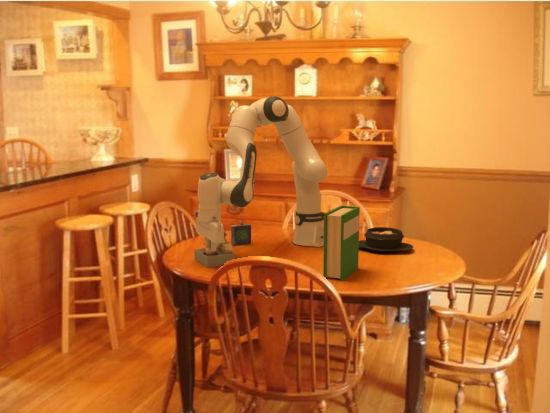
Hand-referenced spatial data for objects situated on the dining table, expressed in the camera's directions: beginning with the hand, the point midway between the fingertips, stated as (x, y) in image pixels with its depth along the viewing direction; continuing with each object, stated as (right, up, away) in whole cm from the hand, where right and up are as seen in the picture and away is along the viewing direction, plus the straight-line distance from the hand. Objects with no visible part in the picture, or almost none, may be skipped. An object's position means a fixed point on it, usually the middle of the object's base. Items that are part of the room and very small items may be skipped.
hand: (210, 249), depth 228 cm
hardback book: (+50, -8, -13) cm, 52 cm away
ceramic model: (-1, 0, +31) cm, 31 cm away
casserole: (+72, -2, +21) cm, 75 cm away
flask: (+10, 0, +31) cm, 33 cm away
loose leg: (0, -3, 0) cm, 3 cm away
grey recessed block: (+1, -5, +4) cm, 6 cm away
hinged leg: (+5, -1, +6) cm, 7 cm away
